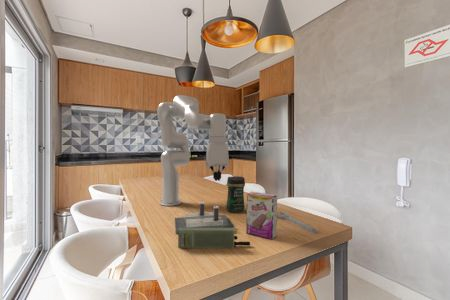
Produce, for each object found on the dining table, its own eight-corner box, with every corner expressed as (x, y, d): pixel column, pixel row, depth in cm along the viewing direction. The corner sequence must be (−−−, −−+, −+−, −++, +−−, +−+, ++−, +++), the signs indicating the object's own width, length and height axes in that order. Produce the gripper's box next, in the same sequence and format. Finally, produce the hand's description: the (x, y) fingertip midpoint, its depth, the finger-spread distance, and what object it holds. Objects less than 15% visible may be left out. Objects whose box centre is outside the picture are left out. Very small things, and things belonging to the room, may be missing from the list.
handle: (213, 220, 96) (213, 206, 96) (217, 220, 97) (217, 205, 97) (214, 222, 94) (214, 207, 94) (218, 222, 95) (218, 207, 95)
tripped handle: (199, 215, 103) (199, 202, 103) (203, 215, 103) (203, 201, 103) (199, 217, 101) (200, 203, 101) (204, 216, 101) (204, 202, 101)
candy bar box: (245, 234, 89) (246, 193, 89) (250, 230, 93) (251, 191, 93) (272, 240, 83) (273, 197, 83) (276, 235, 88) (277, 194, 87)
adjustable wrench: (319, 234, 91) (319, 229, 91) (306, 235, 89) (306, 231, 89) (285, 214, 115) (285, 211, 115) (274, 216, 113) (274, 212, 113)
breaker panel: (174, 221, 103) (174, 213, 103) (225, 217, 108) (225, 210, 108) (175, 233, 88) (175, 225, 88) (233, 229, 94) (233, 220, 94)
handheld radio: (179, 244, 79) (249, 244, 80) (177, 249, 76) (250, 249, 77) (179, 226, 79) (249, 226, 80) (177, 230, 76) (250, 230, 76)
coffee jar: (229, 213, 115) (229, 177, 114) (224, 209, 122) (225, 175, 122) (246, 212, 118) (247, 177, 117) (241, 208, 125) (241, 175, 125)
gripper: (231, 141, 108) (230, 178, 109) (200, 140, 105) (199, 179, 105) (235, 140, 101) (235, 181, 102) (202, 140, 97) (202, 182, 98)
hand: (217, 180), depth 103 cm, fingers closed
